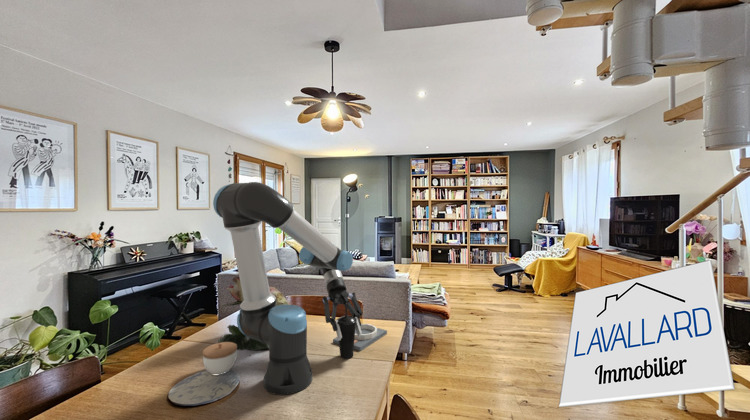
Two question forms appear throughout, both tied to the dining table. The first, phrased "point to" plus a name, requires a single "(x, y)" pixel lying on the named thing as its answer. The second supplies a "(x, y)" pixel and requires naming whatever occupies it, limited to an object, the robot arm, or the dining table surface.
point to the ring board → (365, 342)
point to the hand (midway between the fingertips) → (350, 336)
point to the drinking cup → (347, 335)
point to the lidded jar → (219, 357)
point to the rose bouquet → (236, 334)
